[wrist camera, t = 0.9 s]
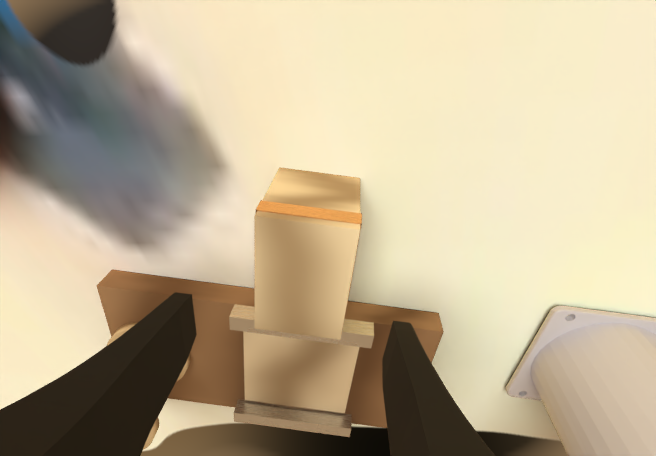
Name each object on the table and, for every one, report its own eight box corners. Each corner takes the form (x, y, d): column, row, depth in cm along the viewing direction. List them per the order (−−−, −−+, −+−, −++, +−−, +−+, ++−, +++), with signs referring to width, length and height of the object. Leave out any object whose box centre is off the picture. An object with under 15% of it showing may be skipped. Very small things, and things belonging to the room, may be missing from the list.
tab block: (361, 176, 18) (361, 228, 13) (345, 273, 21) (341, 340, 17) (278, 165, 18) (253, 214, 14) (275, 264, 21) (253, 329, 17)
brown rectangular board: (438, 313, 22) (446, 345, 20) (403, 410, 27) (406, 444, 25) (111, 269, 22) (85, 297, 20) (138, 374, 27) (120, 405, 25)
